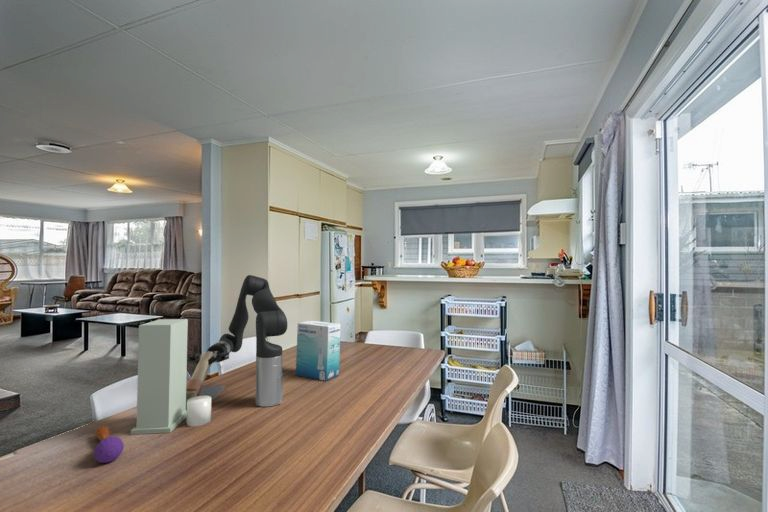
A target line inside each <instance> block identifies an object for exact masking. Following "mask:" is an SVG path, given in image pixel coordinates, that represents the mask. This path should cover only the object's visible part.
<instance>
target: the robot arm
mask: <svg viewBox="0 0 768 512" xmlns="http://www.w3.org/2000/svg"><path fill="white" fill-rule="evenodd" d="M247 296H252V297H251V306H252V309H253V310H254V312H255V313H256V317H255V337H256V338H255V342H256V343H255V345H256V346H255V349H256V350H255V352H256V354H255V399H254V400H255V405H256V406H259V407H262V408H264V407H272V406H276V405H281V403H282V401H283V397H284V395H283V394H284V373H283V347H282V346H281V345H280V344H275V343H272V342H270V341H268V340H267V338H270V337H278V336H282V335H284V334H285V333H286V332H287V331H288V319H287V318H288V317H287V316H286V314H285V312H284V311H283V309H282V308H281V307H280V306H279V305H278V303H277V301H276V299H275V296H274V295H273V293H272V291H271V288H270V284H269V281H268V280H267V279H266V278H263V277H259V276H256V275H253V274H252V275H251V274H248V275H246V276H245V278H244V279H243V282H242V285H241V288H240V291H239V295H238V298H237V304H236V306H235V310H234V314H233V317H232V319H231V321H230V324H229V326H228V331H229V332H230V333H224V334H222V335H221V337H220V339H219V340H218V341H217V342H216V343H214V344H213V345H211V346H209V347H208V348H207V350H206V352H213V357H211V358H210V359H208V365H211V366H212V364H214V363H216V364H217V363H222V362H223V361H227V360H228V359H230V353H237V352H239V351H240V350H241V348H242V346H243V338H244V332H245V329H246V327H247V324H248V322H249V316H250V315H249V311H248V308H247V302H246V300H247ZM201 356H202V354H201V353H199V352H196V353H195V363H196V366H197V365H198V363H199V361H200V358H201Z"/></svg>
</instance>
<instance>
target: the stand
mask: <svg viewBox="0 0 768 512" xmlns="http://www.w3.org/2000/svg"><path fill="white" fill-rule="evenodd" d="M188 321H189V320H188V319H187V318H179V319H178V318H171V319H170V318H169V319H167V318H166V319H165V318H164V319H161V318H160V319H156V320H153V321H150V322H147V323H143V324H139V325H138V347H137V349H138V351H137V352H138V353H137V354H138V356H137V389H136V390H137V392H136V395H137V397H136V426H135V427H133V428H132V429H130V435H144V434H145V435H146V434H165V433H168V434H169V433H172V431H174V429H176V428H177V427H178V425H179V424H181V423H182V422H183V421H184V420H185V419H187V410H186V382H187V375H188V374H187V369H188V331H189V328H188V327H189V326H188V323H189V322H188Z"/></svg>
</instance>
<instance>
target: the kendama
mask: <svg viewBox="0 0 768 512" xmlns="http://www.w3.org/2000/svg"><path fill="white" fill-rule="evenodd" d="M94 436H95V437H96V438H97V440H99V442H98V443H97V444H96V445H95V448H94V450H93V451H94V453H93V456H94V458H95V460H96V461H97V462H99V463H101V464H106V463H110V462H113V461H115V460H116V459H118V458H119V456H120V455H121V454H122V453H123V450H124V446H125V445H124V442H123V441H122V438H120V437H118V436H115V435H113V436H111V435H110V428H109V426H107V425H101V426H99V427H97V428H96V430H95V433H94Z"/></svg>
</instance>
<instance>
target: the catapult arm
mask: <svg viewBox="0 0 768 512" xmlns="http://www.w3.org/2000/svg"><path fill="white" fill-rule="evenodd" d="M201 355H202V356H201V358H200V361H199V363H198V365H197V364H196V367H195V369H194V371H193V373H192V376H191V377H190V379H189V378H188V379H186V399H190V398H193V397H197V396H199V395H200V393H201V390H202V388H203V385H204V383H205V380H206V378H207V376H208V373H209V371H210V368H211V367H212V364H211V365H208V359H210V358H211V357H213V352H207V351H203V352H202V354H201Z"/></svg>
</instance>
